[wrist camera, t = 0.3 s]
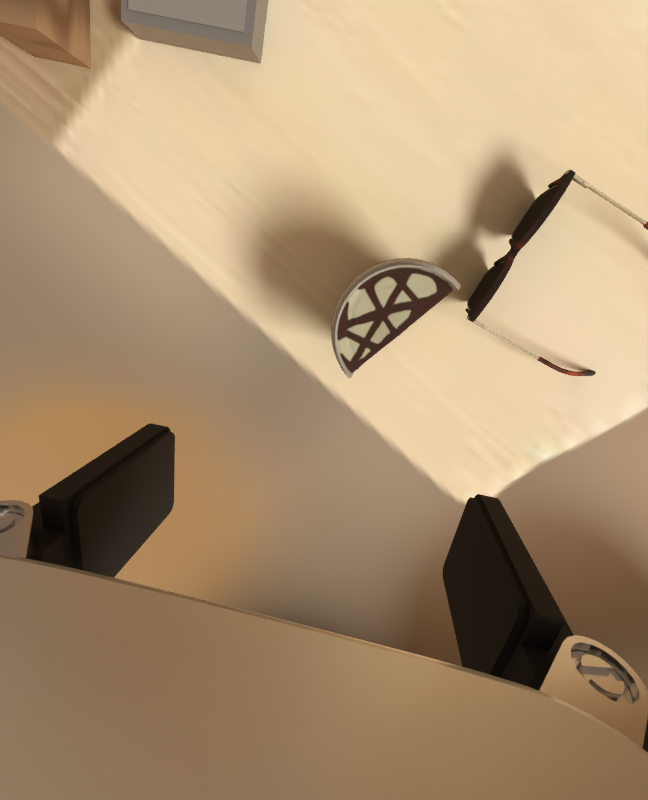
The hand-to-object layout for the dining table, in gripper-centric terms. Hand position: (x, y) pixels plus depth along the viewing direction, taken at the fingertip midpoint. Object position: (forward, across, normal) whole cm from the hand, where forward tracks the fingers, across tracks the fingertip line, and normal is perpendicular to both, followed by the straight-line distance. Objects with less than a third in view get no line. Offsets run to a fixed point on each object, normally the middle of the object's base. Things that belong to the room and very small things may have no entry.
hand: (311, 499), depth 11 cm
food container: (+31, -1, -4) cm, 31 cm away
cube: (+31, +34, -24) cm, 52 cm away
